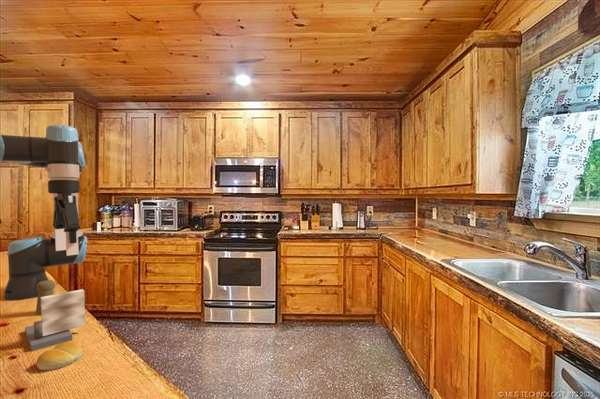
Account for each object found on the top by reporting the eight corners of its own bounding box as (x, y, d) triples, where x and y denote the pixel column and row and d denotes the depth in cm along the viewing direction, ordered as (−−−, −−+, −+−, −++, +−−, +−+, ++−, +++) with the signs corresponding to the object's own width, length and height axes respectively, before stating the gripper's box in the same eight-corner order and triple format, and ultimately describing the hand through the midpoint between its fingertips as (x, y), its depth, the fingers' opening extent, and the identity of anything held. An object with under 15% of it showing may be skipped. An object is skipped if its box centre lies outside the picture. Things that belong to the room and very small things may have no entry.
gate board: (25, 332, 98) (24, 327, 98) (61, 323, 104) (61, 318, 104) (31, 351, 86) (31, 345, 86) (72, 339, 92) (72, 334, 92)
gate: (34, 339, 89) (33, 300, 88) (33, 336, 90) (32, 298, 90) (85, 326, 97) (84, 290, 97) (83, 323, 99) (82, 289, 98)
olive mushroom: (45, 315, 111) (44, 283, 111) (30, 314, 112) (29, 283, 112) (61, 309, 117) (60, 279, 117) (47, 308, 118) (46, 278, 118)
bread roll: (28, 370, 77) (27, 353, 77) (64, 351, 86) (63, 336, 86) (55, 374, 75) (54, 357, 75) (89, 355, 84) (88, 339, 84)
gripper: (39, 181, 101) (42, 250, 101) (57, 176, 84) (60, 259, 84) (68, 181, 106) (71, 246, 107) (91, 177, 89) (94, 254, 89)
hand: (66, 252), depth 95 cm, fingers open, 13 cm apart
